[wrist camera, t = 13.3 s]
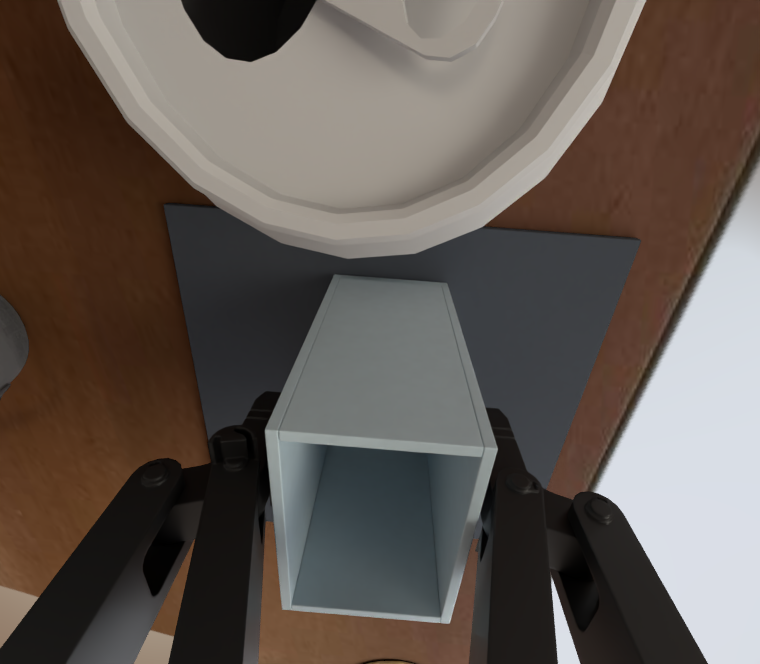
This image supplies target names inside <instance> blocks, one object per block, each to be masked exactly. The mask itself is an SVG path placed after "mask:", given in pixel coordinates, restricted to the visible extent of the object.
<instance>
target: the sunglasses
mask: <svg viewBox="0 0 760 664" xmlns="http://www.w3.org/2000/svg"><path fill="white" fill-rule="evenodd" d="M28 352H29V340H28V337H27V333H26V330H25V327H24V325H23V323H22V321H21V319H20V317H19V315H18V314H17V312H16V311H15V309H14V308H13V307H12V306H11V305H10V304H9V303H8V302H7V301H6V300H5V299H4V298H3V297H2V296H1V295H0V399H1V397H2V395H3V394H4V393H5V392H6V391H7V389H8V388H9V387H10V385H11V384H10V382H11V381H12V380H13V379H14V378H15V377H16V376H17V375H18V374H19V373H20V371H21V370H22V368H23V366H24V365H25V363H26V360H27V357H28Z"/></svg>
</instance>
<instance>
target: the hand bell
mask: <svg viewBox="0 0 760 664" xmlns="http://www.w3.org/2000/svg"><path fill="white" fill-rule="evenodd" d="M367 664H413V663H408V662H403V661H377V662H371V663H367Z"/></svg>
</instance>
